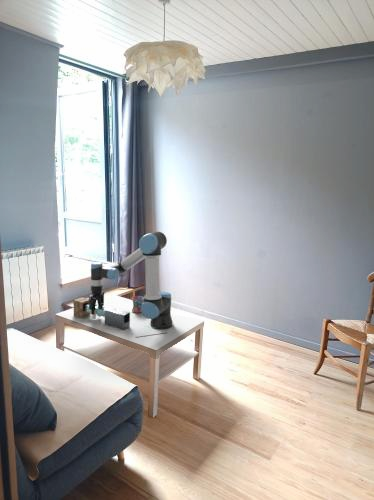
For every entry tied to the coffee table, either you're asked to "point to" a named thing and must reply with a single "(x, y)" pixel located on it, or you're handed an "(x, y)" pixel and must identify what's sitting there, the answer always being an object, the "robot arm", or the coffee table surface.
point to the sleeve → (117, 318)
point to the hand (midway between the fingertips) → (96, 317)
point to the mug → (137, 303)
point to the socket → (80, 307)
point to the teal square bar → (98, 309)
